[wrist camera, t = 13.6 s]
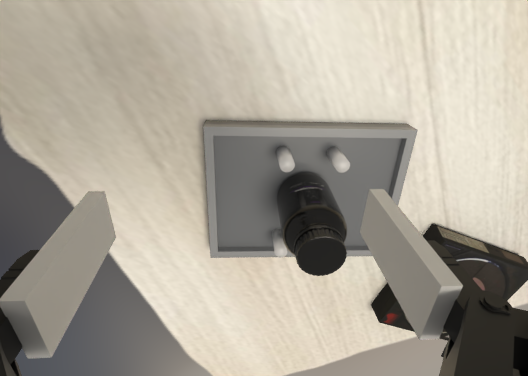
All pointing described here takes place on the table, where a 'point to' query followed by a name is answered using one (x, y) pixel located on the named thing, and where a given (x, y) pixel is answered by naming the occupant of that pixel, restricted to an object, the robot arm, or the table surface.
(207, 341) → the table surface
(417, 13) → the table surface
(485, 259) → the portable cd player
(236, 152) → the pin tray
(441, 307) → the robot arm
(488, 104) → the table surface
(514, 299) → the table surface
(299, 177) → the supplement bottle
